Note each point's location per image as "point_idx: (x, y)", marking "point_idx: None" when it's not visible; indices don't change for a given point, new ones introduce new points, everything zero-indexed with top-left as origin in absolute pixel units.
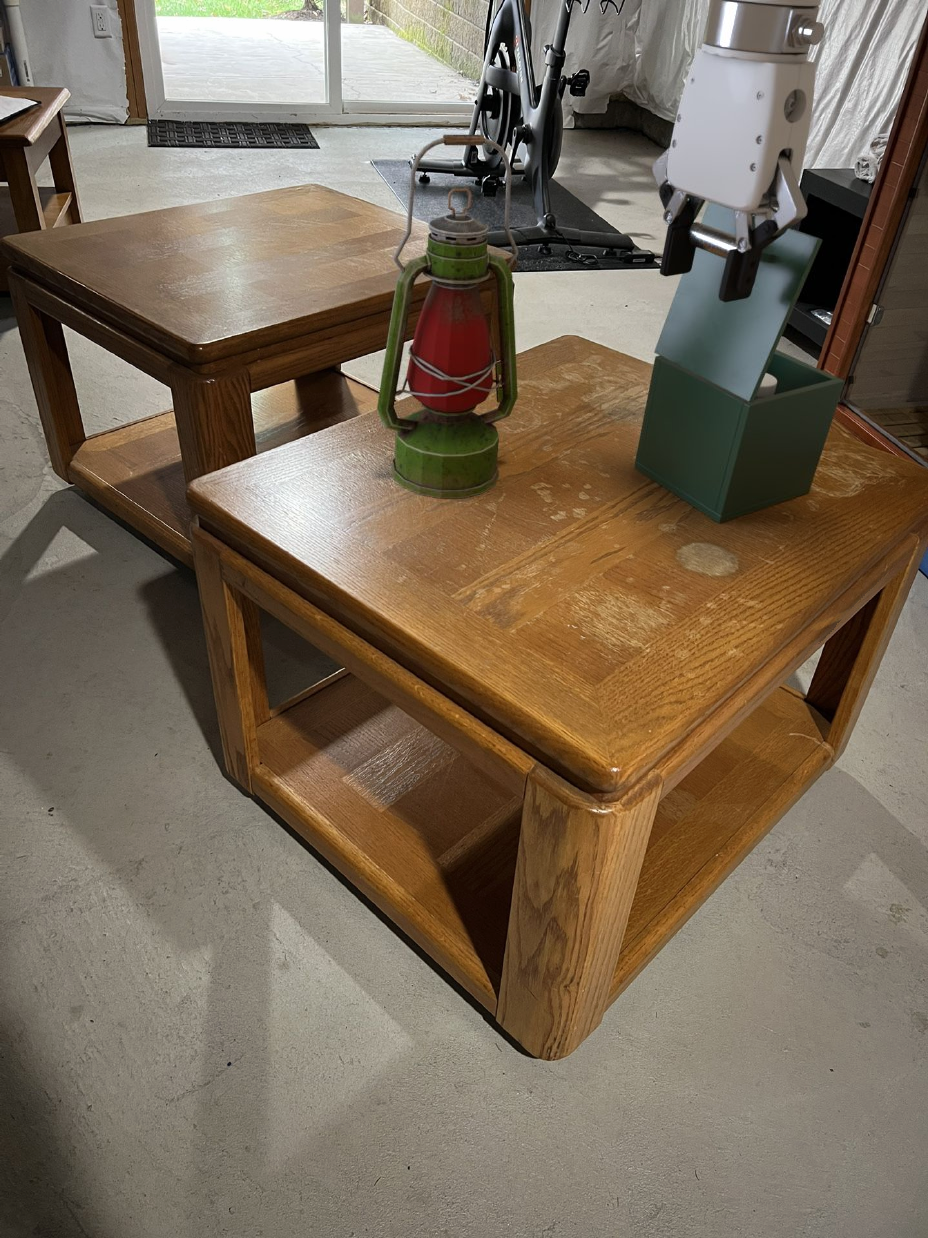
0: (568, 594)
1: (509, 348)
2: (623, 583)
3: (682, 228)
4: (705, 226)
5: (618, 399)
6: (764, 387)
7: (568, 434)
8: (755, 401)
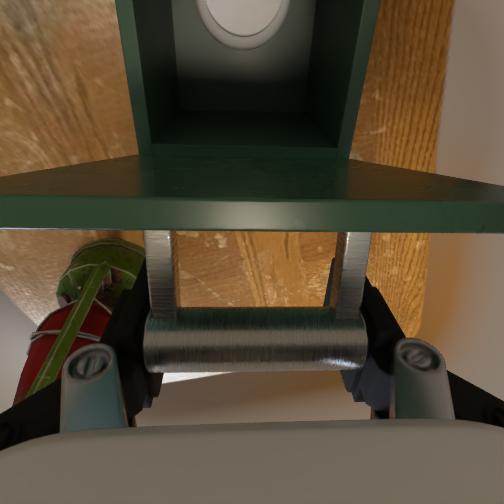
0: (306, 289)
1: (81, 324)
2: (320, 255)
3: (151, 382)
4: (195, 368)
5: None
6: (279, 8)
7: (71, 130)
8: (343, 141)
